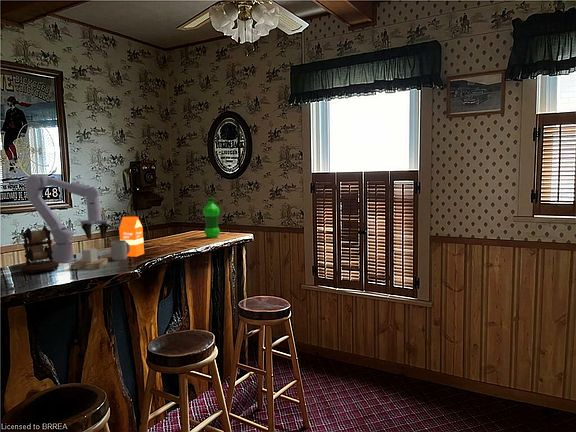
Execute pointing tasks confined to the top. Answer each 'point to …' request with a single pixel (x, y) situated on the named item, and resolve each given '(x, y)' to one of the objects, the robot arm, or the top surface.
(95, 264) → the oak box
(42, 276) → the top surface
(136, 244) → the orange juice
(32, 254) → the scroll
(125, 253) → the cup
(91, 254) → the ceramic block
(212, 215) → the plastic bottle
